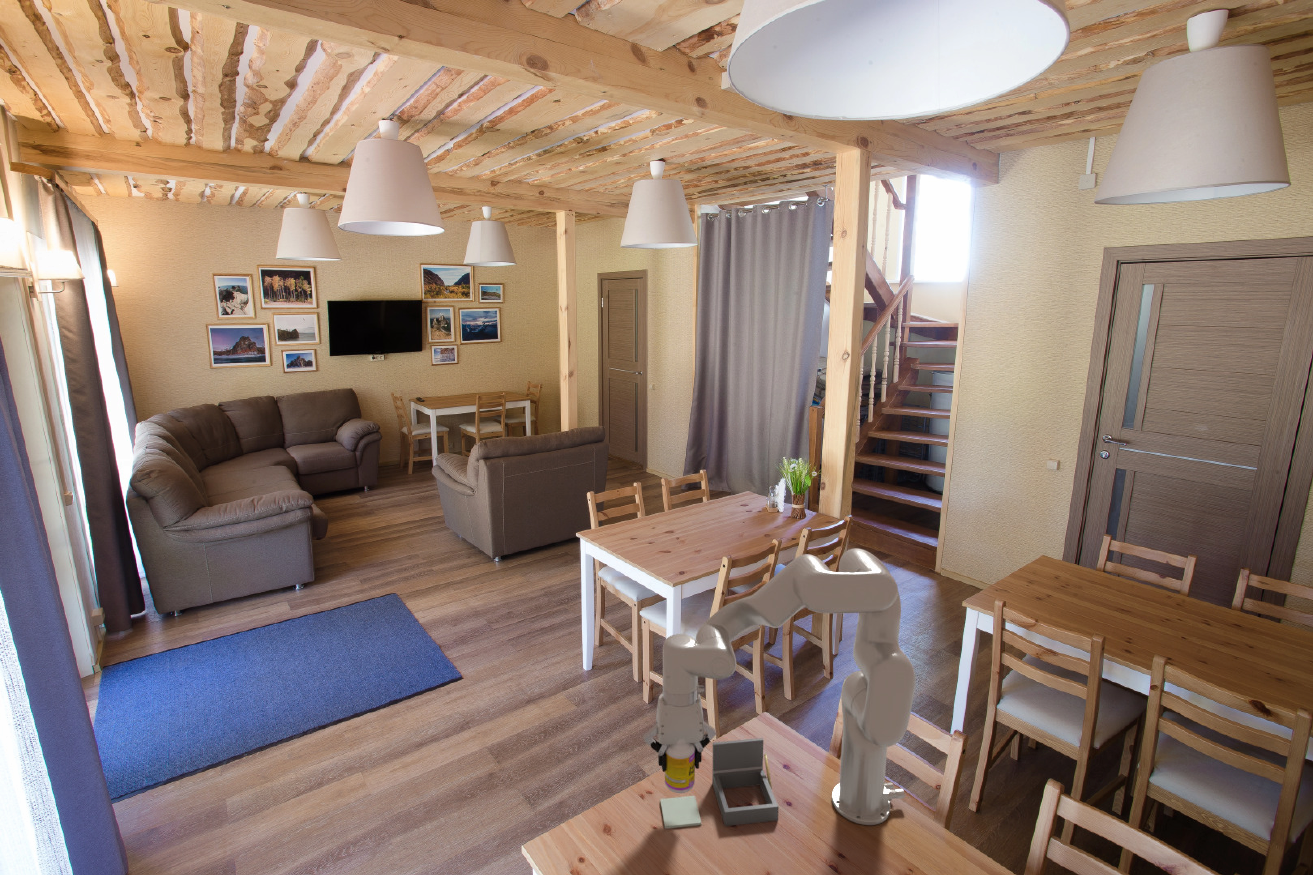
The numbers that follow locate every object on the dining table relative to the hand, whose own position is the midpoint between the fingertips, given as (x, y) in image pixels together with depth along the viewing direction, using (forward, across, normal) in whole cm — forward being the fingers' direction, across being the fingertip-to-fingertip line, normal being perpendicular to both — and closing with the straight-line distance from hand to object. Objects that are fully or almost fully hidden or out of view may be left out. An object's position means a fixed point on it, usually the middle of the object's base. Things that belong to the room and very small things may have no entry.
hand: (679, 765), depth 140 cm
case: (+12, -15, -1) cm, 19 cm away
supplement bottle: (+5, 0, 0) cm, 5 cm away
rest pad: (+12, 0, 0) cm, 12 cm away
